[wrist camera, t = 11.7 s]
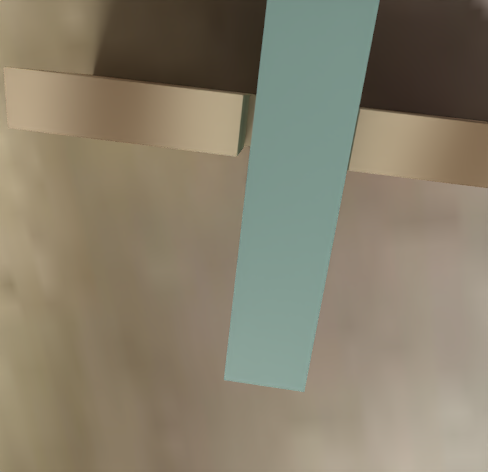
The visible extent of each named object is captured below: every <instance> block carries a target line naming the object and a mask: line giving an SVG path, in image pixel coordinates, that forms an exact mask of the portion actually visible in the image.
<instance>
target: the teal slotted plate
mask: <svg viewBox="0 0 488 472" xmlns="http://www.w3.org/2000/svg"><path fill="white" fill-rule="evenodd" d="M379 1H380V0H267V6H266V14H265V23H264V32H263V41H262V50H261V58H260V67H259V76H258V85H257V94H256V102H255V111H254V120H253V129H252V138H251V146H250V155H249V164H248V173H247V182H246V190H245V199H244V208H243V217H242V225H241V234H240V243H239V252H238V261H237V269H236V278H235V287H234V296H233V305H232V313H231V322H230V331H229V340H228V349H227V357H226V366H225V375H224V380H227V381H234V382H241V383H248V384H254V385H261V386H268V387H274V388H281V389H288V390H294V391H301V392H304V390H305V385H306V380H307V375H308V369H309V364H310V359H311V354H312V349H313V344H314V338H315V333H316V328H317V323H318V318H319V312H320V307H321V302H322V297H323V292H324V286H325V281H326V276H327V271H328V266H329V261H330V255H331V250H332V245H333V240H334V235H335V229H336V224H337V219H338V214H339V209H340V203H341V198H342V193H343V188H344V183H345V178H346V172H347V167H348V162H349V157H350V152H351V146H352V141H353V136H354V131H355V126H356V121H357V115H358V110H359V105H360V100H361V95H362V89H363V84H364V79H365V74H366V69H367V63H368V58H369V53H370V48H371V43H372V38H373V32H374V27H375V22H376V17H377V12H378V6H379Z"/></svg>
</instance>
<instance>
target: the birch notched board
mask: <svg viewBox="0 0 488 472" xmlns="http://www.w3.org/2000/svg"><path fill="white" fill-rule="evenodd" d="M3 69H4V83H5V96H6V110H7V123H8V128H13V129H21V130H29V131H37V132H45V133H53V134H61V135H69V136H77V137H85V138H92V139H100V140H108V141H116V142H124V143H132V144H140V145H148V146H156V147H164V148H172V149H180V150H188V151H196V152H204V153H212V154H220V155H228V156H236V157H237V156H238V154H239V153H240V151H241V150H242V149H243V147H244V146H248V147H250V146H251V138H252V129H253V120H254V111H255V102H256V94H249V93H240V92H232V91H223V90H215V89H206V88H198V87H189V86H181V85H173V84H164V83H156V82H147V81H139V80H130V79H122V78H113V77H105V76H96V75H87V74H76V73H65V72H55V71H44V70H33V69H23V68H12V67H3ZM347 170H348V171H356V172H364V173H372V174H380V175H388V176H396V177H404V178H412V179H419V180H427V181H435V182H443V183H451V184H459V185H467V186H475V187H483V188H488V122H485V121H477V120H468V119H460V118H452V117H443V116H435V115H426V114H418V113H409V112H401V111H392V110H384V109H375V108H367V107H359V110H358V115H357V121H356V126H355V131H354V136H353V141H352V146H351V152H350V157H349V162H348V167H347Z"/></svg>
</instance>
